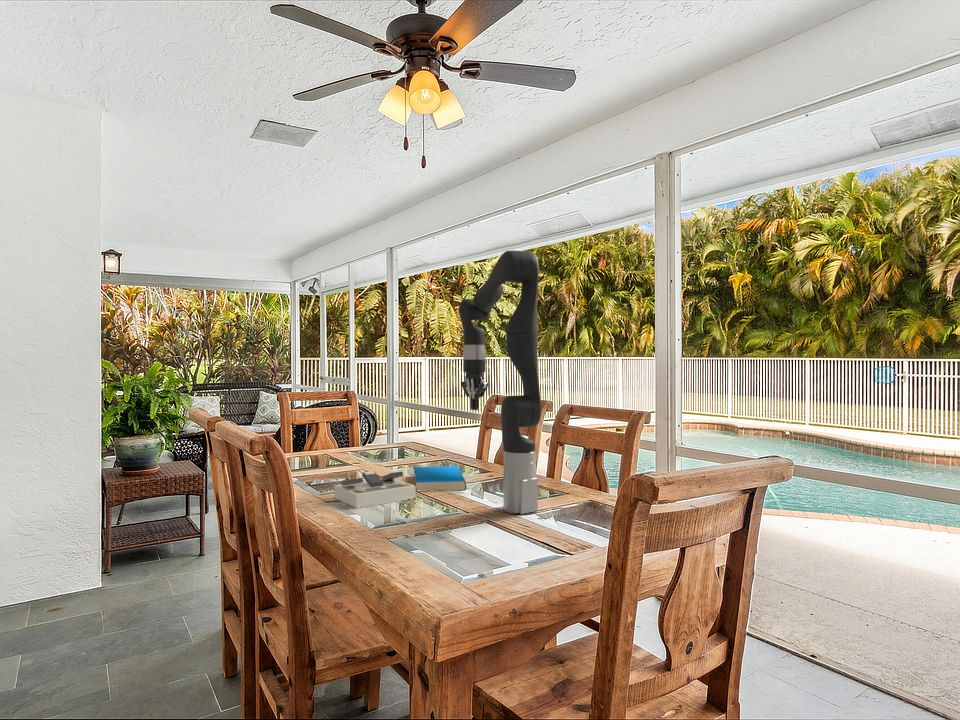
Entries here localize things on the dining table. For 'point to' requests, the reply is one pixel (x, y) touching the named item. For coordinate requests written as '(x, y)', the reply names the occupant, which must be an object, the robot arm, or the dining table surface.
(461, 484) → the book
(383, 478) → the rocker
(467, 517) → the dining table surface
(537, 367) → the robot arm
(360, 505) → the switch unit
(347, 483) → the rocker
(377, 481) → the rocker
